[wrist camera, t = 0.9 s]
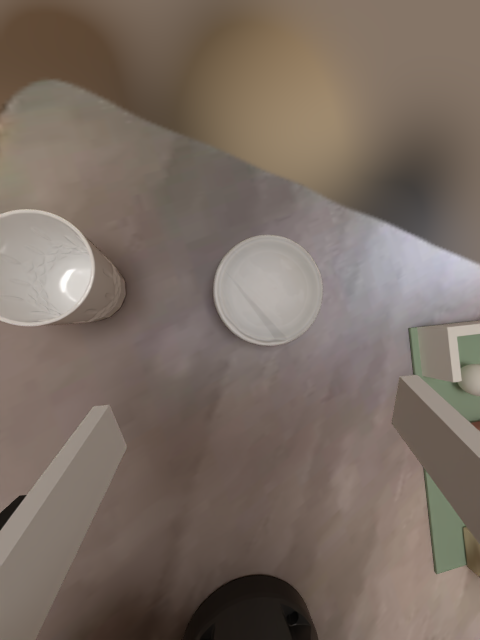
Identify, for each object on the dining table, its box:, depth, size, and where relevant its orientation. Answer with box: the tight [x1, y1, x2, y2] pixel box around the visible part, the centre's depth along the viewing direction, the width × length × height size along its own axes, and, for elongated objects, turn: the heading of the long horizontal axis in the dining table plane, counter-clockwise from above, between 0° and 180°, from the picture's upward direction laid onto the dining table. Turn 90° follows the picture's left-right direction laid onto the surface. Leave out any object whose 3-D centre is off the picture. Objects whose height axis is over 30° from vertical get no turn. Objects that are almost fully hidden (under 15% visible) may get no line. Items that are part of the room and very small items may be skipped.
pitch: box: [409, 320, 480, 574], centre depth 33 cm, size 32×14×1 cm, turn 5°
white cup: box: [0, 209, 126, 326], centre depth 21 cm, size 8×8×10 cm
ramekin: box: [213, 235, 323, 346], centre depth 27 cm, size 11×11×5 cm
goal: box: [417, 321, 480, 382], centre depth 32 cm, size 6×12×4 cm, turn 95°
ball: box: [457, 364, 480, 396], centre depth 31 cm, size 4×4×4 cm
